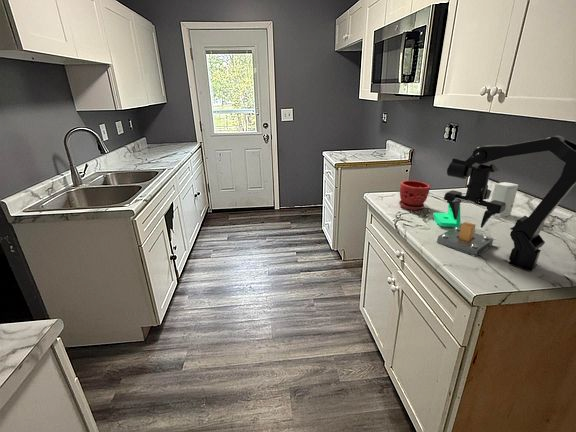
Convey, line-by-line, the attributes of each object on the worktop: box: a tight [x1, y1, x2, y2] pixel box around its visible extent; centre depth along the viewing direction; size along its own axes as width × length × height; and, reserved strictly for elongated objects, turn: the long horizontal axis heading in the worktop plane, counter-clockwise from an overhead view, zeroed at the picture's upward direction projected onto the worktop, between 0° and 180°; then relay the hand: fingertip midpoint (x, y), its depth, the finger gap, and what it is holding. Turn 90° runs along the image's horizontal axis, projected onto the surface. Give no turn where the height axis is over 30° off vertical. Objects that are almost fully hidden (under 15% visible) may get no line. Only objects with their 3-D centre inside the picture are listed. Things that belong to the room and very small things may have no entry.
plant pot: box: [398, 180, 431, 211], centre depth 152 cm, size 13×13×12 cm
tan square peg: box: [459, 221, 477, 242], centre depth 116 cm, size 4×4×8 cm
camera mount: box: [432, 203, 461, 228], centre depth 134 cm, size 12×8×10 cm, turn 171°
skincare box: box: [490, 181, 519, 219], centre depth 142 cm, size 8×6×15 cm
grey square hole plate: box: [436, 227, 494, 257], centre depth 117 cm, size 14×14×3 cm
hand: (468, 223), depth 115 cm, fingers open, 9 cm apart
